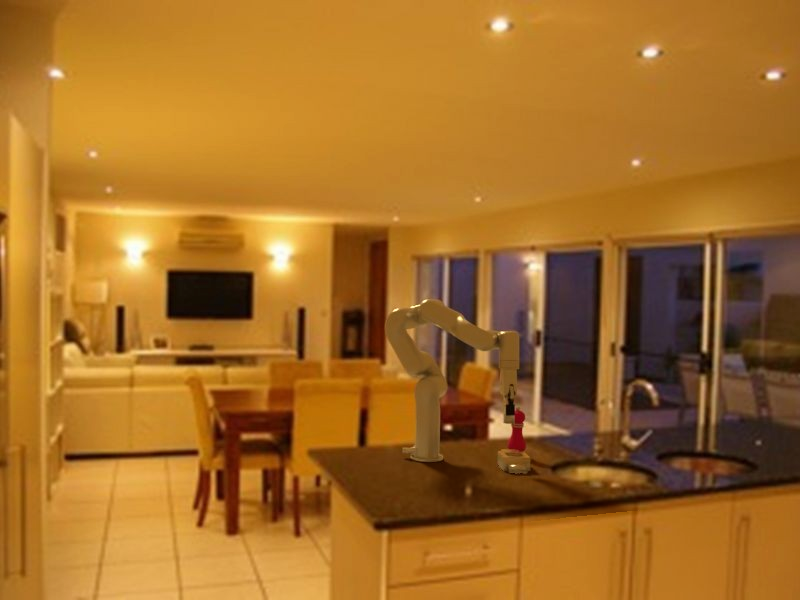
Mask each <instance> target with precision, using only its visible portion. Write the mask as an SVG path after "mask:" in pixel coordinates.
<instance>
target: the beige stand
mask: <svg viewBox="0 0 800 600" xmlns="http://www.w3.org/2000/svg"><path fill="white" fill-rule="evenodd" d="M498 465H499V466H498ZM497 466H498V468H499V469H502V470H503V471H502V470H501V471H502V472H508V474H510V473H515V474H514V475H521V474H520V473H523V474H522V475H527V474H528V473H529V472H528V471H530V472H531V456H529V455H528V453H526V452H525V451H523V452H520V451H519V450H517V449H508V448H501V450H500V451H499V450H498V451H497ZM518 473H519V474H518Z"/></svg>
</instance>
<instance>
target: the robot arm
mask: <svg viewBox="0 0 800 600" xmlns="http://www.w3.org/2000/svg"><path fill="white" fill-rule="evenodd" d="M428 324H432V325H434V326H436V327H437V328H440V329H441V330H444V331H445V332H446V333H449V334H451V335H452V336H453V337H455V338H456V339H458V340H460V341H461V342H463V343H465V344H467V345H468V346H470V347H473V348H474V349H476V350H479V351H481V352H489V351H493V350H498V369H499V370H500V371H499V372H500V374H499V394H501V395H502V397H503V396H506V400H507V404H506V415H507V416H514V415H515V410H516V405H515V403H516V402H515V397H517V394H518V373H517V372H518V371H517V370H519V369H520V334H519V332H518V331H515V330H509V331H508V330H504V331H503V330H502V331H499V330H494V329H493V330H492V329H487V330H485V329H482V328H481V327H479V326H477V325H475V324H473V323H471V322H470V321H468V320H467V319H466V318H465V316H464V315H463V314H462V313H461V312H459V311H456V310H454V309H453V308H451V307H448V306H447V305H445V303H444V302H443V301H441V300H440V299H437V298H428V299H424V300H423V301H421V302H420V304H418V305H415V306H411V307H398V308H395V309H393V310H392V311H391V312H389V314H388V316H387V318H386V320H385V323H384V332H385V335H386V336H385V337H386V338H387V340H388V341H387V342H388V343H389V344H390V346H391V347H392V349H393V352H394V353H395V355H396V357H397V359H398V360H399V362H400V364H401V366H402V367H403V369H404V371H405V372H406V374H407V375H408V376H410V377H413V378H414V377H417V378H418V381H417V382H416V383H415V386H414V400H415V401H414V403H415V423H414V424H415V425H414V426H415V429H414V430H415V431H414V445H413V446H411V447H402V453H404V454H405V453H406V454H410V459H411V460H413V461H417V462H423V463H436V462H441V461H443V459H444V455H443V454H441V453H440V442H441V441H440V440H441V438H440V437H441V432H440V431H441V403H440V398H442V397H444V396H445V394H446V393H447V391H448V381H447V380H446V377H445V376H444V374H443V373H442V371H441V369H440V367H439V366H438V364H437V362H436V359H434V357H433V356H432V355H431V354H430V353H428V351H424V350H420V349H419V347H418V346H417V345H416V343H415V340H414V339H413V338H412V336H411V335H410V334H409V333H408V330H411V329H415V328H419V327H422V326H425V325H428ZM514 391H515V394H514ZM508 394H510V396H508ZM508 398H509V399H508Z"/></svg>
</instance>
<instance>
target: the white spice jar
mask: <svg viewBox="0 0 800 600" xmlns="http://www.w3.org/2000/svg"><path fill="white" fill-rule="evenodd" d="M514 394H515V391H514ZM508 396H510V394H508ZM502 397H503V398H502V399H503V401H502V403H503V405H502V406H503V419H502V420H503V424H506V425H508V424H509V425H511V424H514V416H507V415H506V404H507V400H506V396H503V395H502ZM508 399H509V398H508Z"/></svg>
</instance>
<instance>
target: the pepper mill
mask: <svg viewBox="0 0 800 600" xmlns="http://www.w3.org/2000/svg"><path fill="white" fill-rule="evenodd" d="M525 420H526V413H524V411H521V408H520V406H515V415H514V424H510V426H511V429H512V430H511V435H510V437H509V438H508V442H507V449H517V450H519V451H520V452H525V450H526V448H527V443H526V440H525V438H524V435H523V428H524V425H525V423H524V421H525Z"/></svg>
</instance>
